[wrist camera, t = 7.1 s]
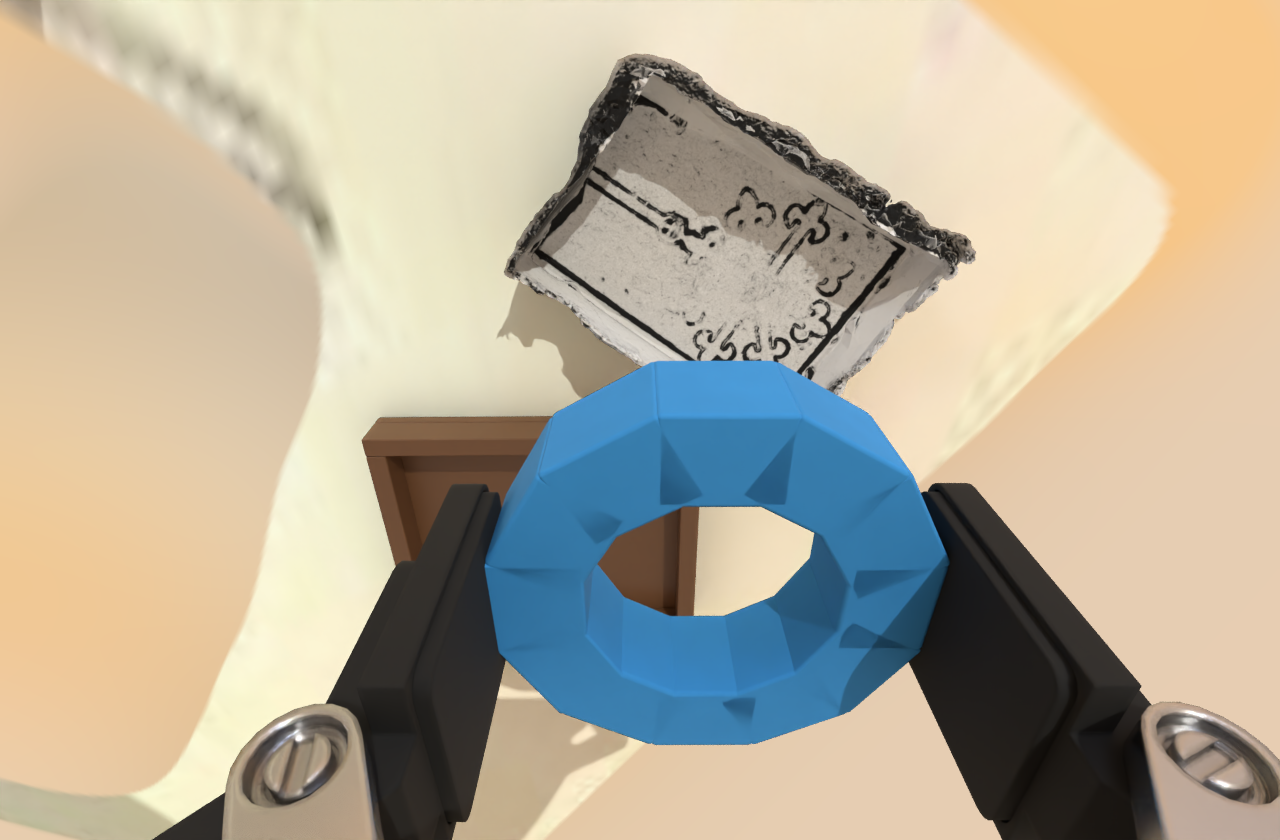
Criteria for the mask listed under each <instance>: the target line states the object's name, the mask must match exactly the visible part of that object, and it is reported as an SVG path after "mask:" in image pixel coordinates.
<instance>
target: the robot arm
mask: <svg viewBox="0 0 1280 840" xmlns="http://www.w3.org/2000/svg"><path fill="white" fill-rule="evenodd" d="M921 495H922V497H923V500H924V502H925V504H926V507H927V509H928V511H929V514H930V516H931V518H932V521H933V523H934V526H935V528H936V530H937V533H938V535H939V537H940V540H941V542H942V544H943V547H944V549H945V551H946V554H947V556H948V558H949V561H950V564H949V565H948V570H947V573H946V576H945V579H944V582H943V585H942V588H941V591H940V594H939V597H938V600H937V603H936V606H935V609H934V612H933V615H932V618H931V621H930V624H929V627H928V630H927V633H926V636H925V639H924V642H923V645H922V647H921V648H920V650H921V651H920V652H919V653H918V654H917V655H916V656H915V657H914V658H912V659H911V660H910V661H909V664H910V666H911V668H912V670H913V672H914V674H915V676H916V679H917V680H918V683H919V685H920V687H921V689H922V691H923V693H924V695H925V697H926V700H927V702H928V704H929V706H930V708H931V710H932V713H933V715H934V717H935V719H936V721H937V723H938V725H939V727H940V729H941V732H942V734H943V736H944V738H945V740H946V742H947V744H948V746H949V748H950V751H951V753H952V755H953V757H954V759H955V761H956V764H957V766H958V768H959V770H960V772H961V774H962V776H963V778H964V781H965V783H966V785H967V787H968V789H969V791H970V793H971V795H972V798H973V800H974V802H975V804H976V806H977V808H978V810H979V811H980V813H981V814H982V816H983V817H984V818H986V819H987V820H993V822H994V823H995V826H996V828H997V830H998V832H999V834H1000V836H1001V838H1002V840H1280V760H1279V759H1278V758H1277V757H1276V756H1275V755H1274V754H1273V753H1272V752H1271V751H1270V750H1269V748H1267V746H1265V745H1264V744H1263V743H1261V742H1260V741H1259V740H1257V739H1256V738H1255V737H1254V736H1252V735H1251V734H1250V733H1248V732H1247V731H1246V730H1245V729H1243V728H1241V727H1239V726H1238V725H1236V724H1234V723H1233V722H1231V721H1229V720H1228V719H1226V718H1224V717H1222V716H1220V715H1218V714H1215V713H1213V712H1210V711H1208V710H1206V709H1203V708H1201V707H1198V706H1194V705H1189V704H1185V703H1181V702H1159V703H1156V704H1154V705H1151V704H1150V703H1149V701H1148V700H1147V699H1146V698H1145V696H1144V695H1143V694H1142V693H1141V692H1140V691H1139V690H1140V688H1141V685H1140V683H1139V682H1138V681H1137V680H1136V679H1135V678H1134V676H1133V675H1132V674H1131V673H1130V672H1129V670H1128V669H1127V668H1126V667H1125V666H1124V665H1123V663H1122V662H1121V661H1120V660H1119V659H1118V658H1117V656H1116V655H1115V654H1114V653H1113V651H1112V650H1111V649H1110V648H1109V647H1108V645H1107V644H1106V643H1105V642H1104V641H1103V639H1102V638H1101V637H1100V636H1099V635H1098V634H1097V632H1096V631H1095V630H1094V629H1093V628H1092V626H1091V625H1090V624H1089V623H1088V622H1087V621H1086V619H1085V618H1084V617H1083V616H1082V615H1081V613H1080V612H1079V611H1078V610H1077V609H1076V607H1075V606H1074V605H1073V604H1072V603H1071V601H1070V600H1069V599H1068V598H1067V597H1066V595H1065V594H1064V593H1063V592H1062V591H1061V590H1060V589H1059V587H1058V586H1057V585H1056V584H1055V582H1054V581H1053V580H1052V579H1051V578H1050V577H1049V575H1048V574H1047V573H1046V572H1045V571H1044V569H1043V568H1042V567H1041V566H1040V565H1039V563H1038V562H1037V561H1036V560H1035V559H1034V557H1033V556H1032V555H1031V554H1030V553H1029V551H1028V550H1027V549H1026V548H1025V547H1024V546H1023V544H1022V543H1021V542H1020V541H1019V540H1018V538H1017V537H1016V536H1015V535H1014V534H1013V533H1012V531H1011V530H1010V529H1009V528H1008V527H1007V525H1006V524H1005V523H1004V522H1003V521H1002V519H1001V518H1000V517H999V516H998V515H997V513H996V512H995V511H994V510H993V509H992V507H991V506H990V505H989V504H988V503H987V502H986V500H985V499H984V498H983V497H982V496H981V494H980V493H979V492H978V491H977V490H976V489H975V487H973V486H972V485H971V484H968V483H935V484H932V486H931V487H930V488H929V490H928V492H922V493H921ZM501 509H502V508H501V501H500V496H499V493H498V492H489V488H488V486H487V485H486V484H453V485H451V487H450V489H449V491H448V493H447V495H446V497H445V499H444V501H443V504H442V506H441V508H440V510H439V512H438V514H437V516H436V518H435V521H434V523H433V525H432V527H431V529H430V531H429V533H428V536H427V538H426V540H425V542H424V544H423V546H422V548H421V551H420V553H419V555H418V557H417V559H416V561H401V562H400V563H398V564H397V566H396V567H395V569H394V570H393V572H392V574H391V576H390V578H389V580H388V582H387V584H386V586H385V588H384V590H383V592H382V594H381V596H380V597H379V599H378V601H377V603H376V605H375V607H374V609H373V611H372V613H371V615H370V617H369V619H368V621H367V623H366V625H365V627H364V629H363V631H362V633H361V635H360V637H359V639H358V641H357V643H356V645H355V647H354V649H353V651H352V653H351V655H350V657H349V659H348V661H347V663H346V665H345V667H344V669H343V671H342V673H341V675H340V677H339V679H338V681H337V683H336V684H335V686H334V688H333V690H332V692H331V694H330V696H329V698H328V700H327V702H326V704H313V705H309V706H305V707H301V708H298V709H294V710H292V711H290V712H288V713H286V714H284V715H282V716H280V717H278V718H276V719H275V720H273V721H272V722H271V723H269V724H268V725H267V726H265V727H264V728H263V729H261V730H260V731H259V732H257V733H256V734H255V735H254V736H253V738H252V739H251V740H250V741H249V742H248V743H247V744H246V745H245V746H244V747H243V748H242V750H241V751H240V753H239V755H238V756H237V758H236V760H235V761H234V763H233V765H232V767H231V768H230V772H229V776H228V780H227V784H226V790H225V793H224V794H222V795H220V796H219V797H217V798H216V799H214V800H213V801H211V802H210V803H208V804H206V805H205V806H203V807H202V808H200V809H199V810H197V811H196V812H194V813H192V814H191V815H189V816H188V817H186V818H185V819H183V820H182V821H180V822H179V823H177V824H175V825H174V826H172V827H171V828H169V829H168V830H166V831H165V832H163V833H161V834H160V835H158V836H157V837H155V838H154V839H152V840H452V837H453V833H454V829H455V825H456V822H466V821H467V820H468V818H469V815H470V812H471V808H472V804H473V800H474V796H475V791H476V787H477V782H478V778H479V774H480V769H481V765H482V761H483V756H484V752H485V748H486V743H487V739H488V735H489V730H490V726H491V722H492V717H493V713H494V709H495V704H496V700H497V696H498V691H499V687H500V682H501V678H502V674H503V669H504V665H505V661H506V659H505V658H504V657H503V656H502V655H501V654H500V653H499V650H498V644H497V638H496V632H495V626H494V620H493V614H492V608H491V602H490V596H489V590H488V584H487V578H486V572H485V558H486V555H487V552H488V549H489V546H490V543H491V540H492V536H493V533H494V530H495V527H496V524H497V521H498V518H499V515H500V512H501Z"/></svg>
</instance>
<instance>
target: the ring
mask: <svg viewBox="0 0 1280 840" xmlns="http://www.w3.org/2000/svg"><path fill="white" fill-rule="evenodd" d="M682 507H763V508H765V509H767V510H769V511H771V512H773V513H775V514H777V515H779V516H781V517H783V518H785V519H787V520H789V521H791V522H793V523H795V524H797V525H799V526H801V527H803V528H805V529H808V530H810V531H812V532H814V538H813V544H812V549H811V555H810V558H809V559H808V561H807V562H806V563H805V564H804V565H803V566H802V567H801V568H800V569H799V570H798V571H797V572H796V573H795V574H794V575H793V576H792V578H791V579H790V580H789V581H788V582H787V583H786V584H785V585H784V586H783V587H782V588H781V589H780V590H779V591H778V592H777V593H776V595H775V596H773V597H770V598H768V599H765V600H763V601H760V602H758V603H755V604H753V605H750V606H748V607H745V608H743V609H740V610H738V611H735V612H733V613H730V614H728V615H725V616H669V615H666V614H664V613H662V612H659V611H657V610H654V609H652V608H650V607H647V606H645V605H642V604H640V603H638V602H635V601H633V600H630V599H628V598H625V597H624V596H623V595H622V594H621V593H620V591H619V590H618V589H617V588H616V587H615V585H614V584H613V583H612V582H611V580H610V579H609V578H608V577H607V575H606V574H605V573H604V572H603V570H602V569H601V568H600V567H599V566H598V562H599V561H600V560H601V558H602V557H603V555H604V554H605V553H606V551H607V550H608V548H609V547H610V546H611V544H612V543H613V541H614V540H615V539H616V537H618V536H620V535H622V534H625V533H627V532H629V531H631V530H633V529H636V528H638V527H640V526H642V525H644V524H647V523H649V522H651V521H653V520H655V519H658V518H660V517H662V516H664V515H666V514H669V513H671V512H673V511H675V510H677V509H680V508H682ZM949 564H950V561H949V558H948V556H947V554H946V551H945V549H944V547H943V544H942V542H941V540H940V537H939V535H938V533H937V530H936V528H935V526H934V523H933V521H932V518H931V516H930V514H929V511H928V509H927V507H926V504H925V502H924V500H923V497H922V495H921V493H920V490H919V488H918V486H917V483H916V481H915V479H914V476H913V475H912V473H911V472H910V470H909V469H908V468H907V466H906V465H905V463H904V462H903V460H902V459H901V458H900V456H899V455H898V453H897V452H896V451H895V449H894V448H893V446H892V445H891V443H890V442H889V441H888V439H887V438H886V436H885V435H884V434H883V432H882V431H881V429H880V428H879V427H878V425H877V424H876V422H875V421H874V419H873V418H872V417H871V416H870V415H869V414H868V413H867V412H865V411H864V410H862V409H860V408H858V407H857V406H855V405H853V404H851V403H849V402H848V401H846V400H844V399H842V398H841V397H839V396H837V395H835V394H834V393H832V392H830V391H828V390H827V389H825V388H823V387H821V386H820V385H818V384H816V383H814V382H813V381H811V380H809V379H807V378H806V377H804V376H802V375H800V374H798V373H797V372H795V371H793V370H791V369H790V368H788V367H786V366H784V365H783V364H781V363H778V362H774V361H655V362H651V363H649V364H647V365H645V366H643V367H641V368H639V369H637V370H635V371H634V372H632V373H630V374H628V375H626V376H624V377H622V378H620V379H618V380H617V381H615V382H613V383H611V384H609V385H607V386H605V387H603V388H601V389H600V390H598V391H596V392H594V393H592V394H590V395H588V396H586V397H584V398H583V399H581V400H579V401H577V402H575V403H573V404H571V405H569V406H567V407H566V408H564V409H562V410H560V411H558V412H556V413H555V414H554V415H553V417H552V418H550V419H549V421H548V423H547V424H546V426H545V428H544V429H543V431H542V433H541V435H540V436H539V438H538V440H537V442H536V443H535V445H534V447H533V449H532V450H531V452H530V454H529V455H528V457H527V459H526V461H525V462H524V464H523V466H522V468H521V469H520V471H519V473H518V474H517V476H516V478H515V480H514V481H513V483H512V485H511V487H510V488H509V490H508V492H507V494H506V496H505V499H504V502H503V505H502V509H501V512H500V515H499V518H498V521H497V524H496V527H495V530H494V533H493V536H492V540H491V543H490V546H489V549H488V552H487V555H486V558H485V572H486V578H487V584H488V590H489V596H490V602H491V608H492V614H493V620H494V626H495V632H496V638H497V644H498V650H499V653H500V654H501V655H502V656H503V657H504V658H505V659H506V660H507V661H508V662H509V663H510V664H511V665H512V666H513V667H514V668H515V669H516V670H517V671H518V672H519V673H520V674H521V675H522V676H523V677H524V678H525V679H526V680H527V681H528V682H529V683H530V684H531V685H532V686H533V687H534V688H535V689H536V690H537V691H538V692H539V693H540V694H541V695H542V696H543V697H544V698H545V699H546V700H547V701H548V702H549V703H550V704H551V705H552V706H553V707H554V708H555V709H556V710H557V711H558V712H559V713H564V714H565V715H568V716H571V717H574V718H577V719H579V720H582V721H585V722H588V723H591V724H594V725H597V726H599V727H602V728H605V729H608V730H611V731H614V732H617V733H619V734H622V735H625V736H628V737H631V738H634V739H636V740H639V741H642V742H645V743H648V744H651V743H652V744H655V745H749V744H751V743H752V744H756V743H759V742H762V741H765V740H768V739H771V738H774V737H777V736H780V735H783V734H786V733H789V732H792V731H795V730H798V729H801V728H804V727H807V726H810V725H813V724H816V723H819V722H822V721H825V720H828V719H831V718H834V717H837V716H840V715H842V714H845V713H846V712H850V711H851V710H852V709H854V708H855V707H856V706H857V705H858V704H859V703H861V702H862V701H863V700H864V699H865V698H867V697H868V696H869V695H870V694H871V693H872V692H874V691H875V690H876V689H877V688H878V687H879V686H881V685H882V684H883V683H884V682H885V681H886V680H888V679H889V678H890V677H891V676H892V675H894V674H895V673H896V672H897V671H898V670H899V669H901V668H902V667H903V666H904V665H905V664H906V663H908V662H909V661H910V660H911V659H912V658H914V657H915V656H916V655H917V654H918V653H919V652H920V651H921V650H920V648H921V647H922V645H923V642H924V639H925V636H926V633H927V630H928V627H929V624H930V621H931V618H932V615H933V612H934V609H935V606H936V603H937V600H938V597H939V594H940V591H941V588H942V585H943V582H944V579H945V576H946V573H947V570H948V565H949Z"/></svg>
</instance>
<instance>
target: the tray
mask: <svg viewBox="0 0 1280 840" xmlns="http://www.w3.org/2000/svg"><path fill="white" fill-rule="evenodd" d="M552 417H553V416H534V417H394V418H379V419H378V420H377V421H376V422H375V424H374V425H373V426H372V428H371V429H370V430H369V431H368V433H367V434H366V435H365V436H364V438H363V439H362V444H363V447H364V451H365V455H366V456H367V462H368V465H369V469H370V473H371V476H372V480H373V484H374V488H375V491H376V495H377V499H378V502H379V506H380V510H381V513H382V517H383V521H384V524H385V528H386V532H387V536H388V539H389V543H390V547H391V550H392V554H393V558H394V561H395V565H396V566H397V564H398V563H400V562H401V561H416V559H417V557H418V555H419V553H420V551H421V548H422V546H423V544H424V542H425V540H426V538H427V536H428V533H429V531H430V529H431V527H432V525H433V523H434V521H435V518H436V516H437V514H438V512H439V510H440V508H441V506H442V504H443V501H444V499H445V497H446V495H447V493H448V491H449V489H450V487H451V485H453V484H486V485H487V486H488V488H489V492H498V493H499V496H500V501H501V508H502V505H503V502H504V499H505V496H506V494H507V492H508V490H509V488H510V487H511V485H512V483H513V481H514V480H515V478H516V476H517V474H518V473H519V471H520V469H521V468H522V466H523V464H524V462H525V461H526V459H527V457H528V455H529V454H530V452H531V450H532V449H533V447H534V445H535V443H536V442H537V440H538V438H539V436H540V435H541V433H542V431H543V429H544V428H545V426H546V424H547V423H548V421H549V419H550V418H552ZM698 519H699V507H682V508H680V509H677V510H675V511H673V512H671V513H669V514H666V515H664V516H662V517H660V518H658V519H655V520H653V521H651V522H649V523H647V524H644V525H642V526H640V527H638V528H636V529H633V530H631V531H629V532H627V533H625V534H622V535H620V536H618V537H616V539H615V540H614V541H613V543H612V544H611V546H610V547H609V548H608V550H607V551H606V553H605V554H604V555H603V557H602V558H601V560H600V561H599V562H598V566H599V567H600V568H601V569H602V570H603V572H604V573H605V574H606V575H607V577H608V578H609V579H610V580H611V582H612V583H613V584H614V585H615V587H616V588H617V589H618V590H619V591H620V593H621V594H622V595H623V596H624V597H625V598H628V599H630V600H633V601H635V602H638V603H640V604H642V605H645V606H647V607H650V608H652V609H654V610H657V611H659V612H662V613H664V614H666V615H669V616H694V597H695V577H696V558H697V538H698Z"/></svg>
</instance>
